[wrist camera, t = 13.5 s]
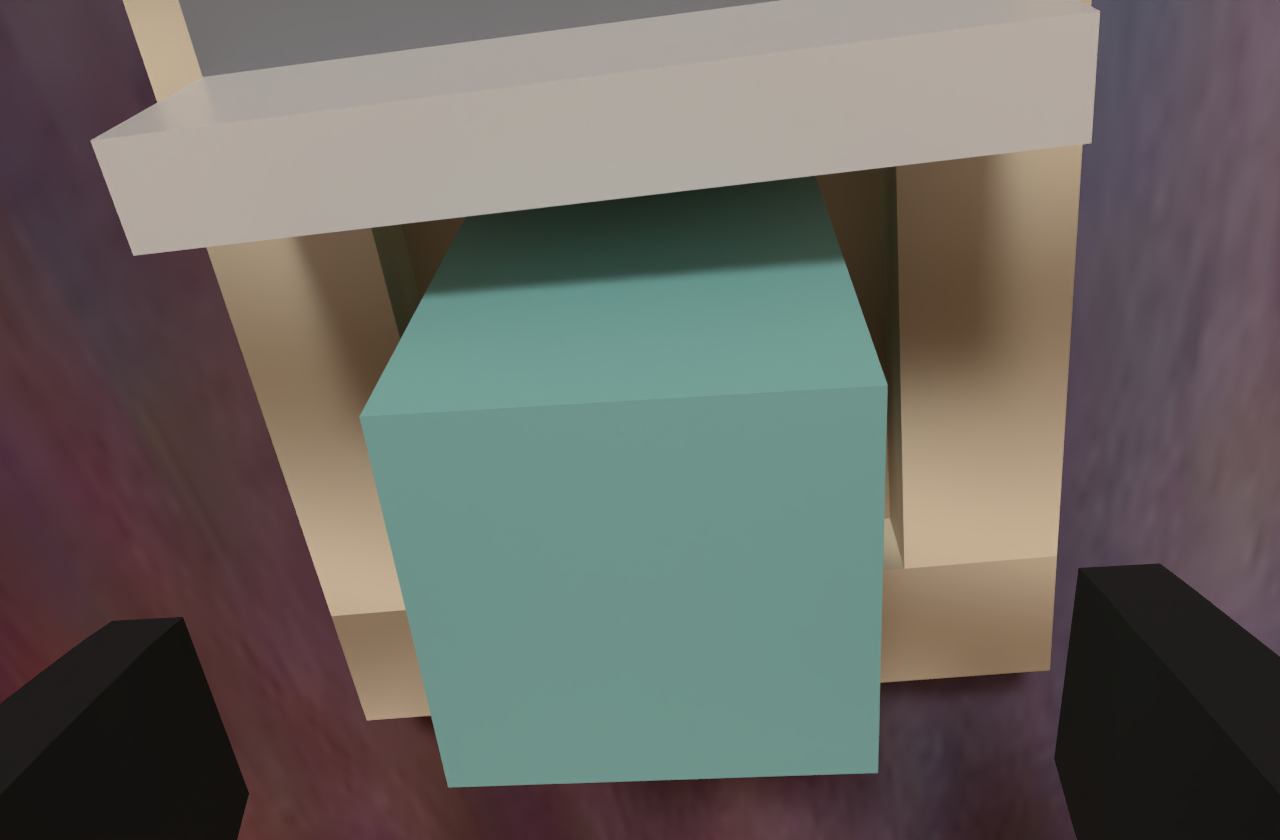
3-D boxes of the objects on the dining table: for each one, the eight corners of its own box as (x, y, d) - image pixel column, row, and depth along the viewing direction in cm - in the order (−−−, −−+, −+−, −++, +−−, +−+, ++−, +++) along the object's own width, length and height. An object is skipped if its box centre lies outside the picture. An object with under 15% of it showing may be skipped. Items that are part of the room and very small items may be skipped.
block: (811, 442, 15) (877, 773, 10) (528, 458, 16) (447, 787, 10) (808, 158, 13) (888, 386, 8) (484, 182, 14) (359, 416, 8)
